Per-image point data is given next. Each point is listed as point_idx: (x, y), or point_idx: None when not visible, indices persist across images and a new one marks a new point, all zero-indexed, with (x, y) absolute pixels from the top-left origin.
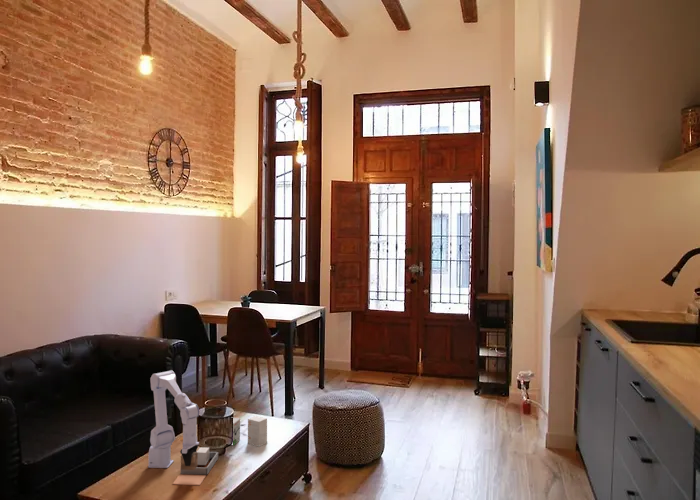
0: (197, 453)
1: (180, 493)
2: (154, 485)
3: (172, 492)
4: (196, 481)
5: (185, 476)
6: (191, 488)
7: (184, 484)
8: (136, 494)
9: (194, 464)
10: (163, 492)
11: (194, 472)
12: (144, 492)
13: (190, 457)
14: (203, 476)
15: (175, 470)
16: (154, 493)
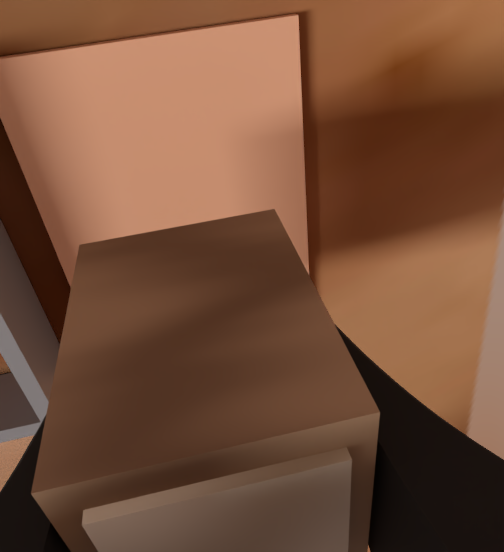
0: (54, 457)
1: (492, 155)
2: None
3: (462, 239)
4: (219, 111)
5: None
6: (381, 91)
7: (305, 216)
8: (467, 429)
9: (289, 264)
10: (455, 305)
11: (7, 256)
12: (443, 409)
13: (480, 447)
14: (35, 85)
15: (22, 439)
16: (465, 351)
